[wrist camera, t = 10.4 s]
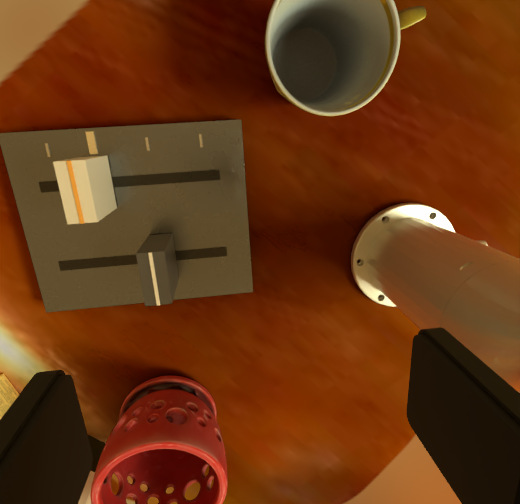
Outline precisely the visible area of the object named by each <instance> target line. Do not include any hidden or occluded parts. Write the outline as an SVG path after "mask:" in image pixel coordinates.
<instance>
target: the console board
mask: <svg viewBox="0 0 520 504" xmlns="http://www.w3.org/2000/svg"><path fill="white" fill-rule="evenodd" d="M0 145H1V149H2V153H3V156H4V160H5V164H6V167H7V171H8V175H9V178H10V182H11V185H12V189H13V193H14V196H15V200H16V204H17V207H18V211H19V215H20V218H21V222H22V226H23V229H24V233H25V237H26V240H27V244H28V248H29V251H30V255H31V259H32V262H33V266H34V270H35V273H36V277H37V281H38V284H39V288H40V291H41V295H42V299H43V302H44V306H45V310H46V312H56V311H66V310H76V309H86V308H96V307H106V306H116V305H127V304H137V303H144V297H143V291H142V286H141V280H140V274H139V269H138V263H137V257H136V253H137V251H138V250H139V249H140V247H141V246H142V244H143V243H144V241H145V240H146V238H147V237H148V236H149V235H158V234H170V233H173V239H174V246H175V254H176V261H177V268H178V275H179V280H178V284H177V288H176V291H175V295H174V299H173V300H177V299H187V298H198V297H208V296H218V295H228V294H238V293H248V292H253V282H252V268H251V253H250V239H249V224H248V210H247V195H246V181H245V166H244V152H243V137H242V123H241V120H223V121H206V122H188V123H171V124H153V125H135V126H118V127H100V128H83V129H65V130H47V131H30V132H12V133H0ZM91 156H108V162H109V167H110V172H111V178H112V183H113V189H114V194H115V199H116V205H117V208H116V209H115V210H114V211H112V212H111V213H110V214H108V215H107V216H105V217H104V218H103V219H101V220H100V221H99V222H93V223H83V224H68V225H67V220H66V216H65V212H64V207H63V203H62V199H61V194H60V190H59V186H58V182H57V177H56V173H55V169H54V164H53V162H55V161H61V160H67V159H73V158H79V157H91Z"/></svg>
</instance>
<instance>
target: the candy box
mask: <svg viewBox="0 0 520 504" xmlns="http://www.w3.org/2000/svg"><path fill="white" fill-rule="evenodd" d="M19 395H20V394H19V393H18V392H17V391H16V389H15V388H14V387H13V385H12V384H11V382H10V381H9V380H8V378H7V377H6V376H5V374H4V373H2V374H0V419H1V418H2V417H3V415H4V414H5V413H6V412H7V410H8V409H9V408H10V406H11V405H12V404H13V402H14V401H15V400H16V398H17V397H18V396H19Z"/></svg>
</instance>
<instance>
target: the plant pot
mask: <svg viewBox="0 0 520 504" xmlns="http://www.w3.org/2000/svg"><path fill="white" fill-rule="evenodd" d="M216 417H217V411H216V405H215V402H214V400H213V398H212V396H211V394H210V393H209V392H208V391H207V389H206V388H204V387H203V386H202V385H201V384H199V383H198V382H196V381H194V380H191V379H189V378H186V377H181V376H160V377H156V378H153V379H150V380H148V381H145V382H144V383H142V384H140V385H138V386H137V387H136V388H134V389H133V390H132V391H131V392H130V393H129V394H128V396H127V397H126V399H125V400H124V402H123V404H122V406H121V409H120V415H119V421H118V422H117V424H116V426H115V427H114V429H113V430H112V432H111V434H110V436H109V438H108V440H107V442H106V444H105V446H104V449H103V451H102V454H101V456H100V459H99V461H98V465H97V468H96V471H95V474H94V478H93V482H92V486H91V495H90V497H91V504H127V503H126V497H128V496H130V497H132V498H133V499H134V500H135V504H147V501H148V499H149V498H150V497H156V498H158V500H159V503H158V504H170V503H172V502H177V503H178V504H222V503H223V501H224V499H225V496H226V492H227V465H226V455H225V449H224V444H223V440H222V436H221V432H220V428H219V426H218V423H217V421H216ZM208 465H209V473H208V475H207V476H206V477H205V470H206V468H207V466H208ZM113 473H115V475H116V476H117V478H118V481H119V490H118V493H117V494H116V495H114V494H113V493H112V490H111V477H112V475H113ZM128 476H131V477H132V479H133V483H132V484H129V483H128V481H127V477H128ZM213 478H214V484H213V486H212V488H210V485H211V481H212V479H213ZM194 482H199V483H200V486H201V487H200V491H199V494H198V495H197V497H196V498H195V499H193V500H186V499H185V496H184V495H185V491H186V489H187V487H188V486H189V485H191V484H192V483H194ZM141 484H146V485H147V487H148V490H147V491H146V492H143V491H141V489H140V485H141ZM168 487H173V488H174V491H173V492H172V493H171V494H167V493H166V489H167V488H168Z"/></svg>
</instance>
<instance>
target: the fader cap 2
mask: <svg viewBox="0 0 520 504" xmlns="http://www.w3.org/2000/svg"><path fill="white" fill-rule="evenodd" d="M136 257H137V263H138V269H139V274H140V280H141V286H142V291H143V297H144V303H145V306H153V305H157V306H158V305H163V304H172V302H173V299H174V295H175V291H176V288H177V284H178V280H179V275H178V268H177V261H176V254H175V246H174V239H173V233H170V234H158V235H149V236H148V237H147V238H146V240H145V241H144V243H143V244H142V246H141V247H140V249H139V250H138V251H137V253H136Z"/></svg>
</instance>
